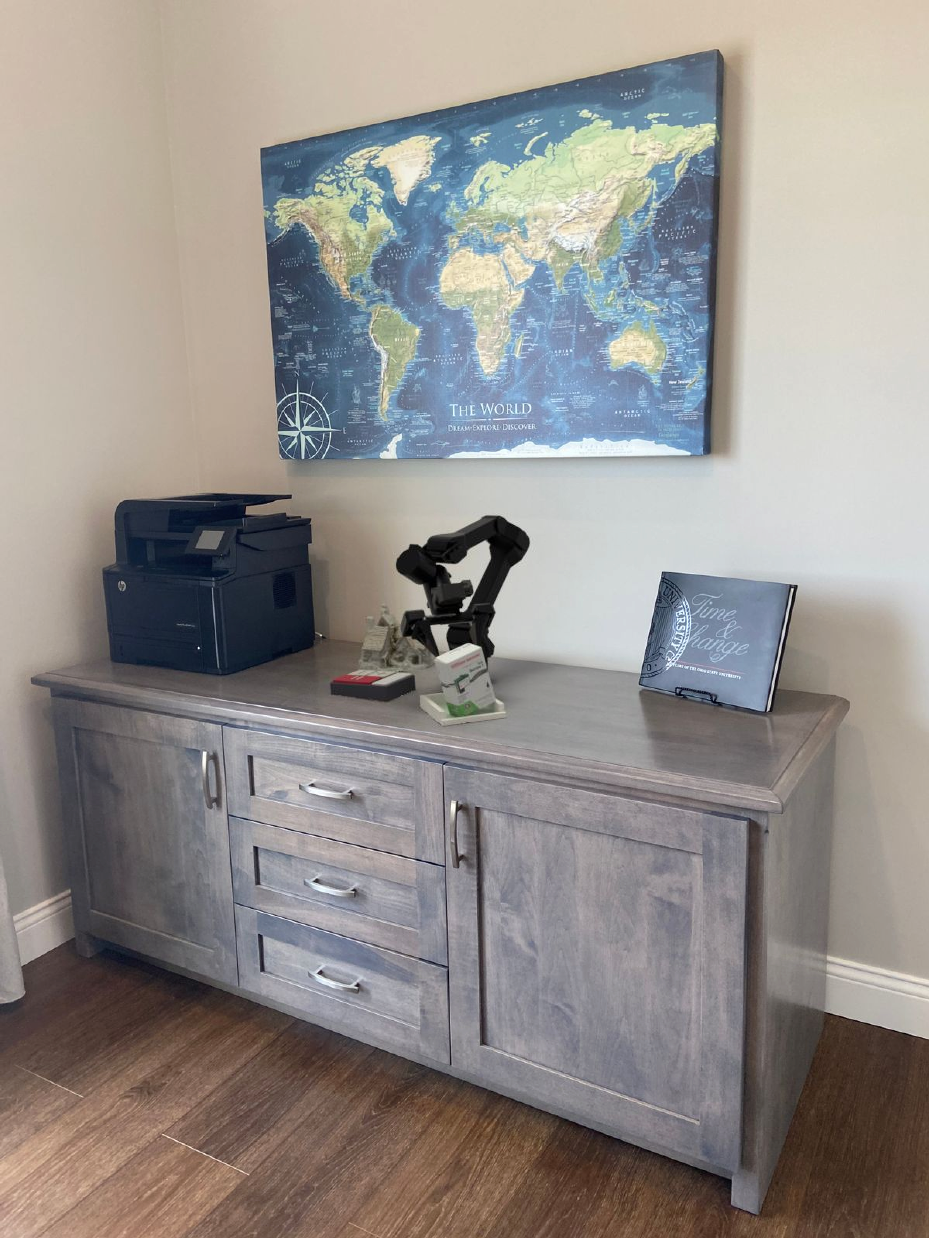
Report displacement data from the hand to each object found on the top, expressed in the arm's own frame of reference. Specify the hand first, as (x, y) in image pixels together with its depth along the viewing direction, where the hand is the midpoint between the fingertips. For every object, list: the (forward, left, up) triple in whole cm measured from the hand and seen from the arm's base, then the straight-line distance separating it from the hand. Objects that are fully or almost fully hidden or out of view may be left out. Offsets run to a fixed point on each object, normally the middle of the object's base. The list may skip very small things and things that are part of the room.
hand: (458, 654), depth 183 cm
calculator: (+12, -22, -12) cm, 28 cm away
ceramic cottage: (+2, -42, -12) cm, 44 cm away
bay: (0, +1, -11) cm, 12 cm away
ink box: (-1, +3, -10) cm, 11 cm away
